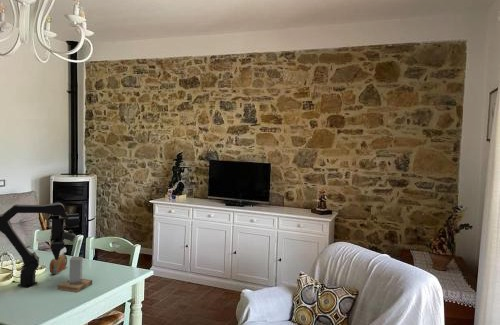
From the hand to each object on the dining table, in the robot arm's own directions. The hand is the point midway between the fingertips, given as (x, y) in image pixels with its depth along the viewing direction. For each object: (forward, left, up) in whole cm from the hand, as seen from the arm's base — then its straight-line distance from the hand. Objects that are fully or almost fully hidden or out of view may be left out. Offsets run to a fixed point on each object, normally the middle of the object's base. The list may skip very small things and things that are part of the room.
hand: (56, 257), depth 199 cm
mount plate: (-2, -13, -13) cm, 18 cm away
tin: (+14, +10, -13) cm, 22 cm away
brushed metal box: (-2, -13, -11) cm, 17 cm away
